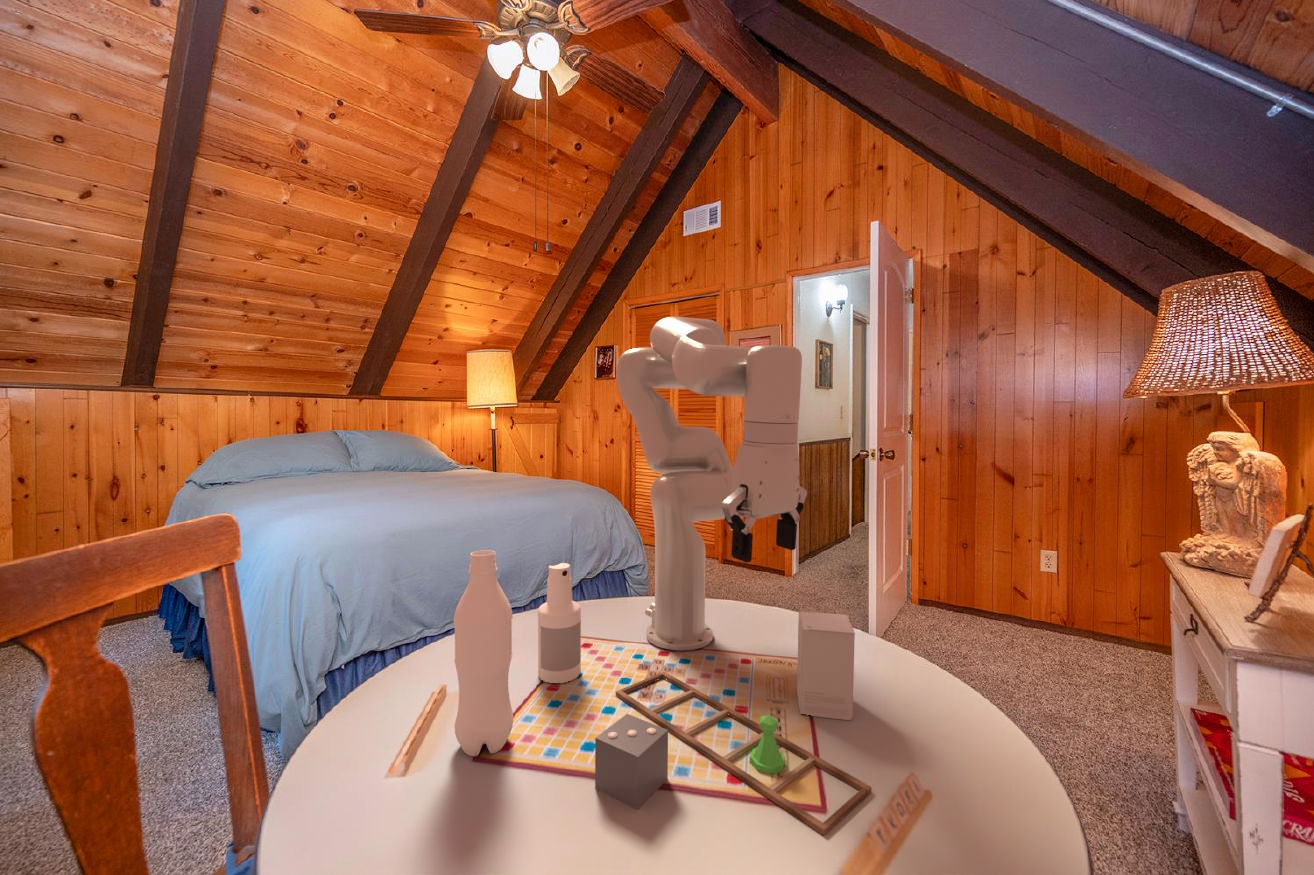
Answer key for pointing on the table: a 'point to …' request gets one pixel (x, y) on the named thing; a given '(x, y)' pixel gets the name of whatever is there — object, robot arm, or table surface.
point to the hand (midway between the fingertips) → (764, 553)
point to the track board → (736, 771)
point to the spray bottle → (559, 629)
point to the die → (631, 760)
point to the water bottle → (483, 659)
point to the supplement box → (825, 665)
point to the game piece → (767, 749)
